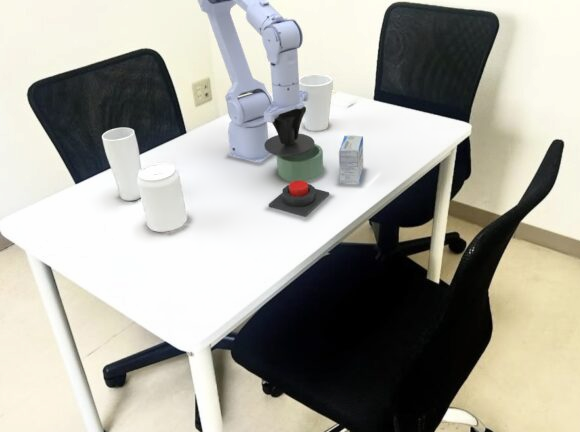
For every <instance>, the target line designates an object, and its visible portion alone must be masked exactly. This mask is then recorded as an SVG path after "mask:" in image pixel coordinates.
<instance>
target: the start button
mask: <svg viewBox="0 0 580 432" xmlns="http://www.w3.org/2000/svg"><path fill="white" fill-rule="evenodd" d="M308 184H309V183H308V182H307V181H291V182H290V183H289V184H288V185H289V193H290V195H293V196H304V195H307V194H308Z"/></svg>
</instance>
